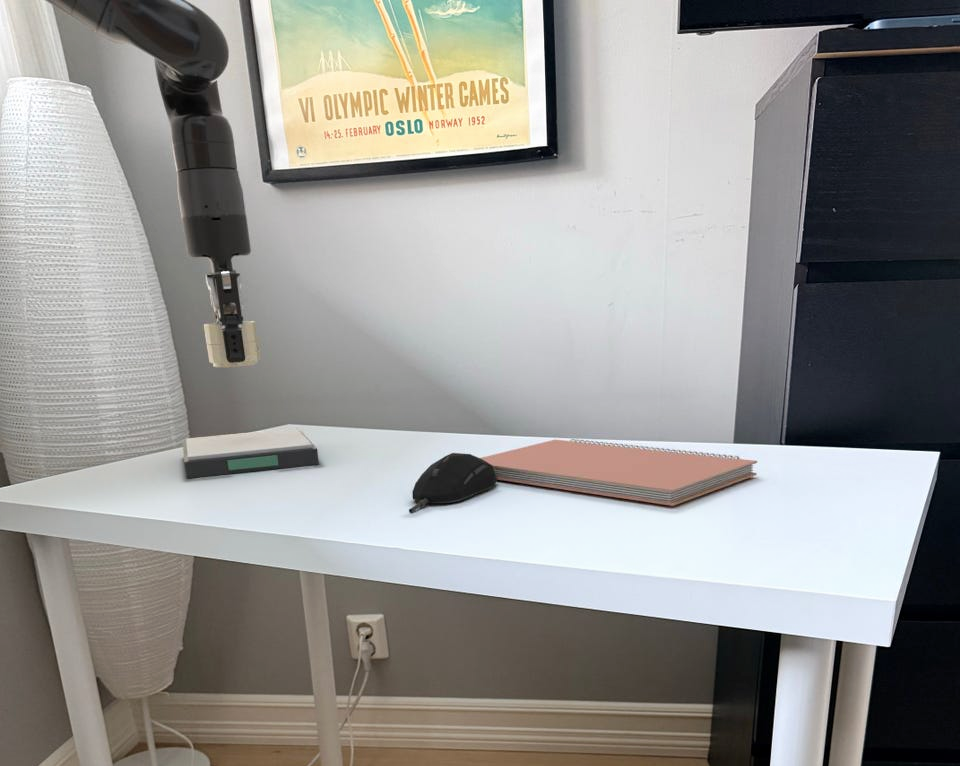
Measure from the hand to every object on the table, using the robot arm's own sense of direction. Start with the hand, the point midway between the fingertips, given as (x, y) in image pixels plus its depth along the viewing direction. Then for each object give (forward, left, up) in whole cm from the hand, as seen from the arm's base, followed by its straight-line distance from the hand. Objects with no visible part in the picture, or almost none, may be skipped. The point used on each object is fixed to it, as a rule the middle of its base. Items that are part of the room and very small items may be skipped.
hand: (234, 359), depth 116 cm
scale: (0, 0, -13) cm, 13 cm away
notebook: (+36, -33, -13) cm, 51 cm away
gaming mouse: (+18, -33, -13) cm, 40 cm away
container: (0, 0, -1) cm, 1 cm away
